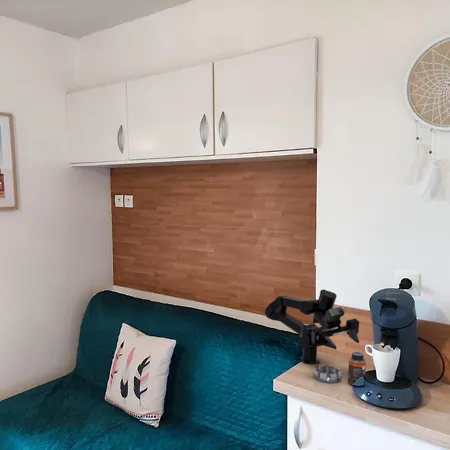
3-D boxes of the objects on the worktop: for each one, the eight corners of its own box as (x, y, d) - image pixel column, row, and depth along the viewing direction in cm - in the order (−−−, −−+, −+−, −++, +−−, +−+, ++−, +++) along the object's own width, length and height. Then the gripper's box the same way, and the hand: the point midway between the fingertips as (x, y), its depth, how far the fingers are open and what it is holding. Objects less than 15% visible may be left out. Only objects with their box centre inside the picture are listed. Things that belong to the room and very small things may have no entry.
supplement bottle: (368, 387, 161) (369, 356, 160) (352, 387, 160) (353, 356, 160) (360, 380, 167) (361, 350, 166) (345, 380, 166) (346, 350, 165)
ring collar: (309, 372, 173) (309, 365, 173) (334, 371, 175) (334, 363, 175) (320, 384, 163) (320, 376, 162) (347, 382, 165) (347, 374, 165)
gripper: (304, 308, 170) (325, 333, 157) (348, 298, 175) (371, 321, 161) (304, 332, 175) (323, 358, 161) (346, 321, 180) (369, 345, 166)
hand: (347, 345), depth 162 cm, fingers open, 9 cm apart
